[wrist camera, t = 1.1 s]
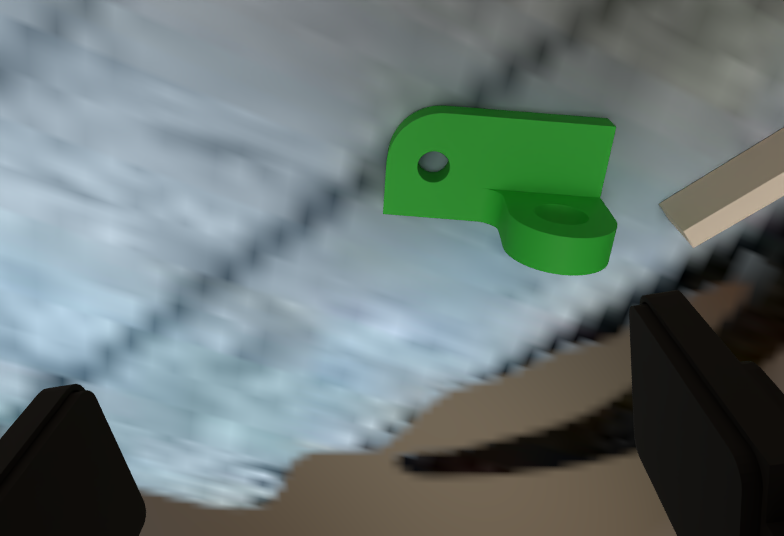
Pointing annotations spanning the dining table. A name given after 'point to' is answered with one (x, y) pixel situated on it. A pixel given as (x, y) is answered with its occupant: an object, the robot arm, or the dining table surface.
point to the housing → (729, 192)
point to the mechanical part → (510, 181)
